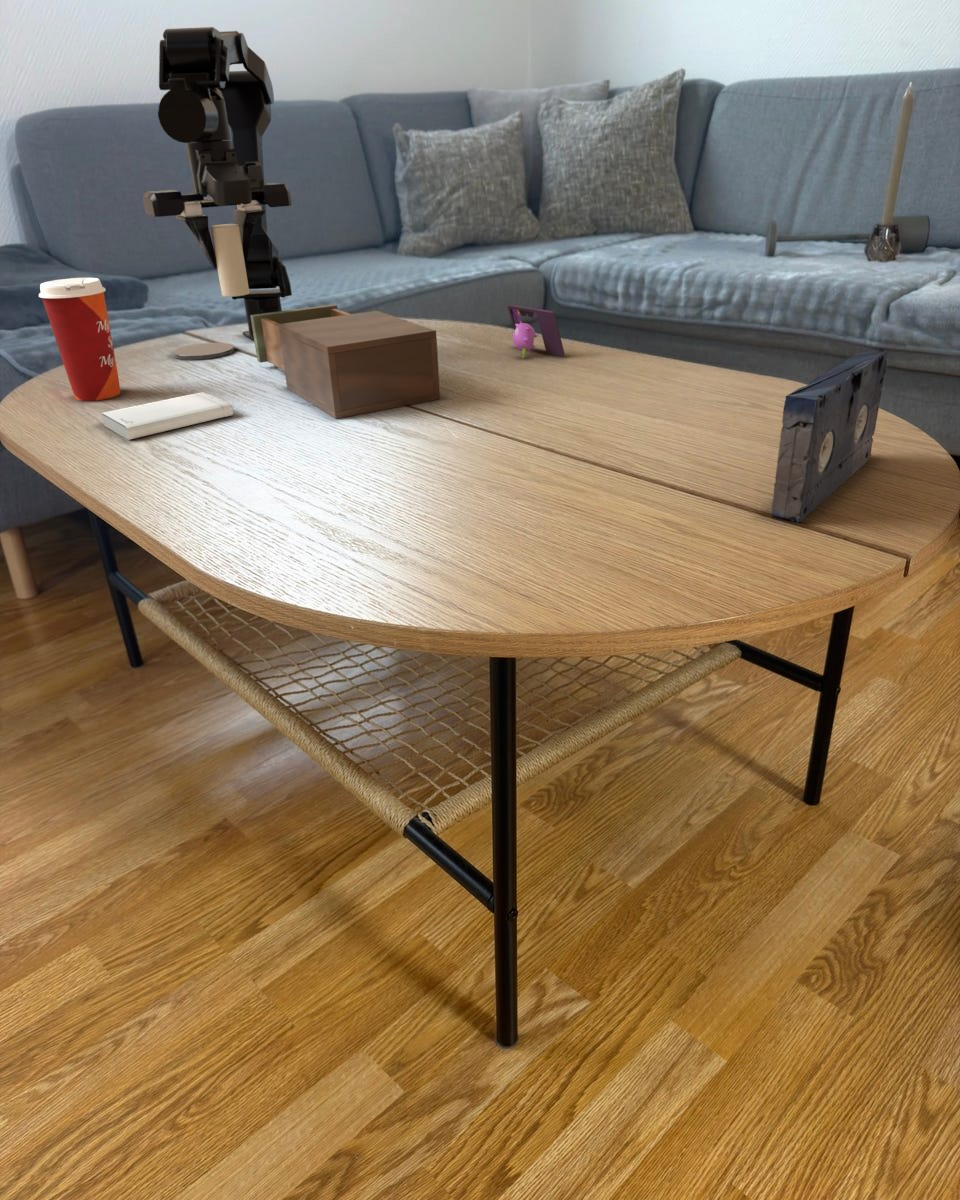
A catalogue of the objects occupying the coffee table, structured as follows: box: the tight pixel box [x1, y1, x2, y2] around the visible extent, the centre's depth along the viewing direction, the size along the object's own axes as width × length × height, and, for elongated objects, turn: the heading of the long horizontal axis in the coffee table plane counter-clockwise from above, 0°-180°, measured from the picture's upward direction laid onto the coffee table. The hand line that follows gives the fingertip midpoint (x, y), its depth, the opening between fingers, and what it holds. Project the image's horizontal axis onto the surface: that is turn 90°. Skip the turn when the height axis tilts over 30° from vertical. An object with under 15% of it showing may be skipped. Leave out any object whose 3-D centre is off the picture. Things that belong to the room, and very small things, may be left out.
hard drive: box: [100, 391, 234, 441], centre depth 101 cm, size 2×8×12 cm
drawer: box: [251, 304, 351, 372], centre depth 119 cm, size 20×12×6 cm, turn 30°
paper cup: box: [38, 277, 121, 402], centre depth 109 cm, size 8×8×14 cm
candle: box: [209, 223, 250, 298], centre depth 121 cm, size 4×4×9 cm
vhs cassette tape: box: [770, 349, 888, 523], centre depth 74 cm, size 18×3×10 cm, turn 140°
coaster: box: [172, 342, 235, 361], centre depth 133 cm, size 9×9×1 cm
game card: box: [507, 304, 566, 359], centre depth 122 cm, size 7×5×9 cm
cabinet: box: [278, 310, 441, 420], centre depth 107 cm, size 17×14×8 cm
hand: (229, 266), depth 122 cm, fingers closed on candle, 4 cm apart
